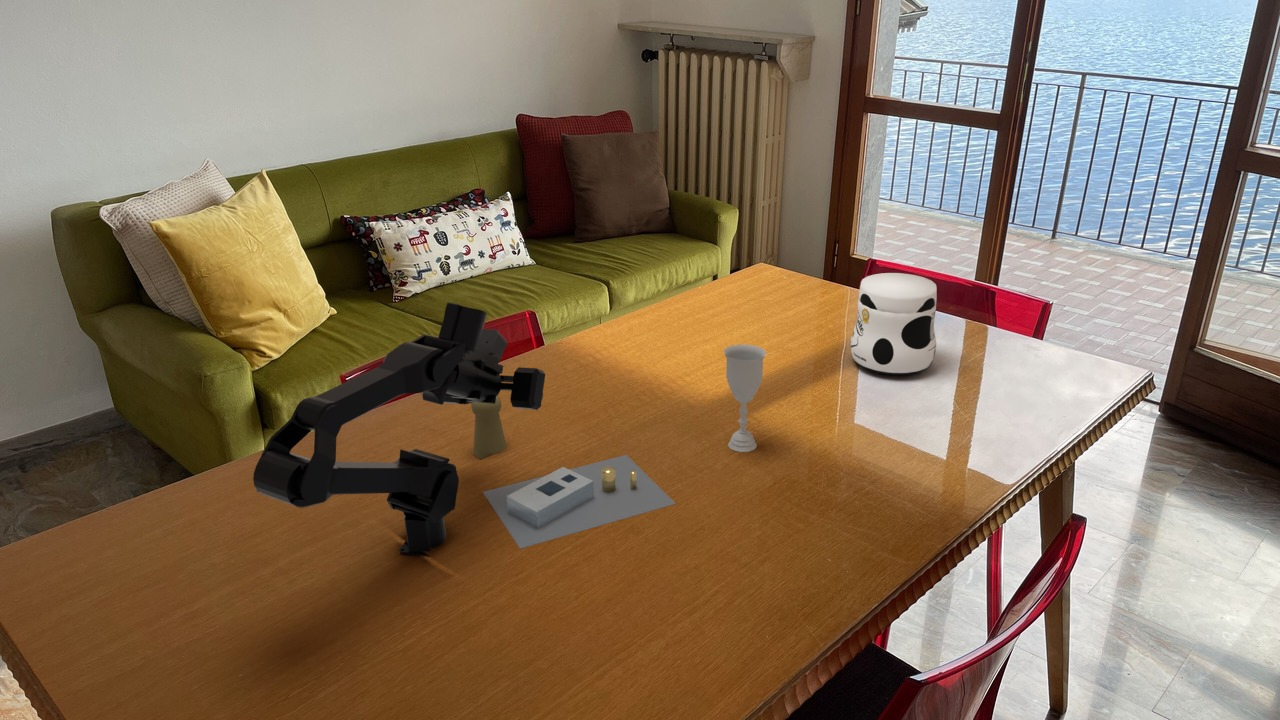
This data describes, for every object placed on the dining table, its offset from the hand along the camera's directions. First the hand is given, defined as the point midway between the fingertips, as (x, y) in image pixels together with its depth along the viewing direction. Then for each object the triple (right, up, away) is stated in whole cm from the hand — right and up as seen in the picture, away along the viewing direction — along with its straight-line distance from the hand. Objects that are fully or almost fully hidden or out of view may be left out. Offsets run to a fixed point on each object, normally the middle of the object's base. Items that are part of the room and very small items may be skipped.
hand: (518, 394), depth 155 cm
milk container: (+73, +4, +44) cm, 86 cm away
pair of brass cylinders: (+17, -15, -2) cm, 23 cm away
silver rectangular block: (+6, -17, -6) cm, 19 cm away
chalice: (+38, -10, +13) cm, 42 cm away
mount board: (+10, -17, -4) cm, 20 cm away
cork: (-7, -11, +13) cm, 18 cm away
